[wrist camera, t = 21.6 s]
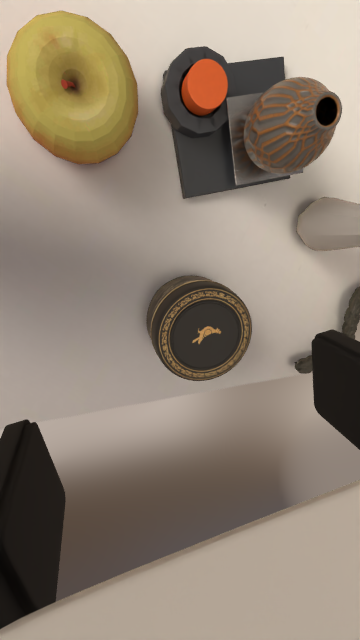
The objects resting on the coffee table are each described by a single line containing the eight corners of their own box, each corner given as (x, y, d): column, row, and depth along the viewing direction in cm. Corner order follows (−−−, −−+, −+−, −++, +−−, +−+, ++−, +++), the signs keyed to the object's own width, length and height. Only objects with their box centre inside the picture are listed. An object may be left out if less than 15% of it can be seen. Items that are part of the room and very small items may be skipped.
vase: (272, 78, 30) (340, 26, 21) (311, 143, 32) (384, 118, 24) (218, 133, 30) (265, 102, 22) (261, 192, 32) (316, 185, 24)
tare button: (184, 118, 29) (191, 111, 27) (177, 71, 28) (184, 61, 26) (221, 113, 30) (230, 106, 28) (216, 66, 29) (225, 56, 27)
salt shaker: (281, 217, 37) (370, 219, 25) (320, 187, 37) (427, 174, 25) (302, 258, 40) (393, 277, 28) (339, 230, 40) (445, 236, 28)
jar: (124, 317, 36) (132, 342, 29) (186, 252, 36) (209, 261, 29) (184, 368, 40) (203, 401, 33) (241, 310, 40) (273, 331, 32)
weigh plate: (234, 185, 32) (236, 185, 32) (225, 98, 29) (226, 97, 29) (301, 172, 33) (303, 172, 33) (297, 88, 31) (299, 87, 30)
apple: (6, 140, 29) (-24, 114, 21) (34, 19, 27) (12, -56, 19) (114, 185, 32) (120, 176, 25) (146, 80, 30) (163, 36, 23)
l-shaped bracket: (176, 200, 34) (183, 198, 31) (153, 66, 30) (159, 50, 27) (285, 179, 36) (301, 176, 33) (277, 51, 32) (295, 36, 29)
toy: (306, 376, 46) (320, 388, 43) (284, 360, 43) (298, 372, 41) (379, 292, 44) (398, 299, 42) (361, 270, 41) (380, 276, 39)
